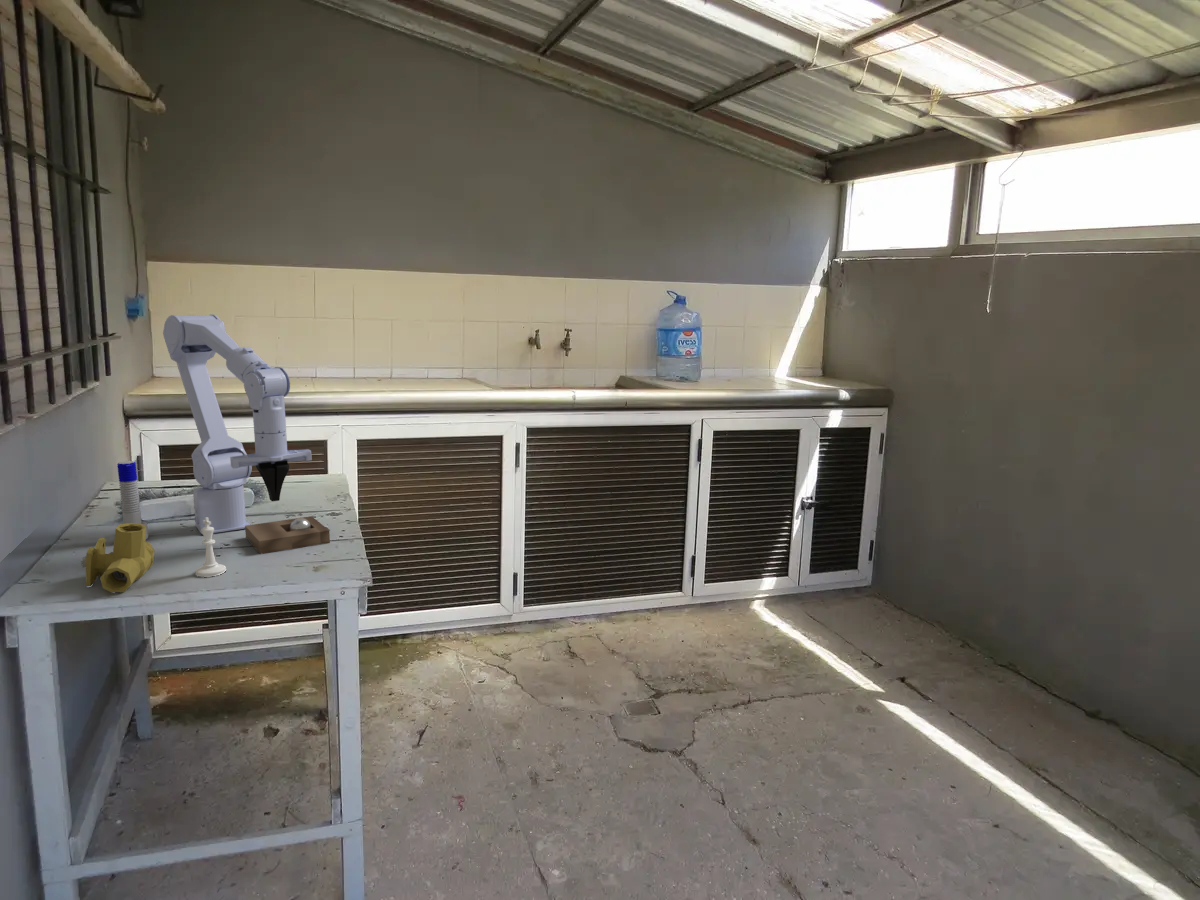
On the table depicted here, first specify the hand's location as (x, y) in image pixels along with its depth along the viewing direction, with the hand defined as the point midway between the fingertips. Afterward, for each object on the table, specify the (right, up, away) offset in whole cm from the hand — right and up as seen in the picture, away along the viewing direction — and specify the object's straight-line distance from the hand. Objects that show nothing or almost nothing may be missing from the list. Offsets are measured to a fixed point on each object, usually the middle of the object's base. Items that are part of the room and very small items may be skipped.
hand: (274, 500), depth 158 cm
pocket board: (+2, -8, +3) cm, 9 cm away
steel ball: (+4, -6, +4) cm, 8 cm away
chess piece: (-5, -12, -16) cm, 20 cm away
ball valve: (-18, -13, -20) cm, 30 cm away
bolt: (-28, -8, +1) cm, 29 cm away
